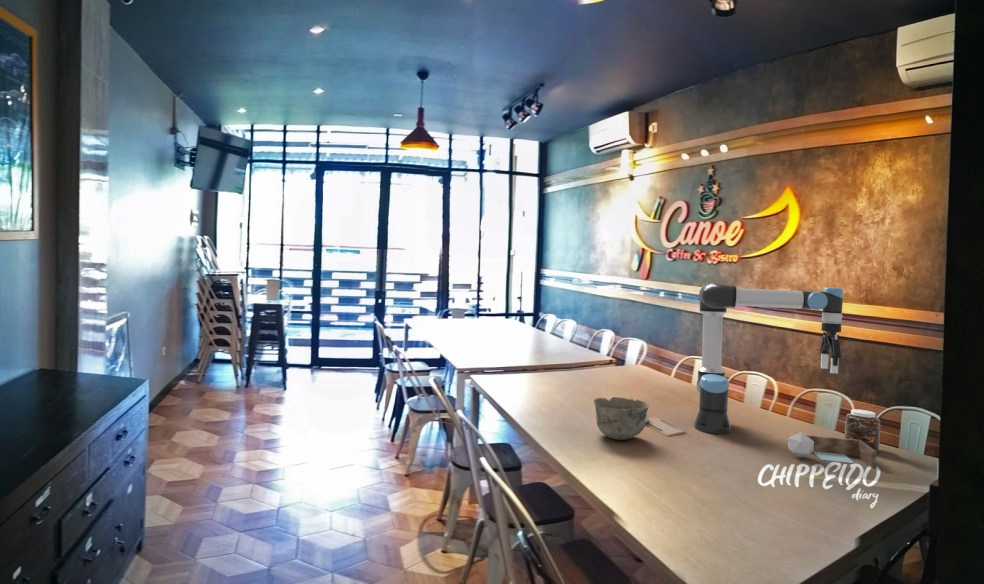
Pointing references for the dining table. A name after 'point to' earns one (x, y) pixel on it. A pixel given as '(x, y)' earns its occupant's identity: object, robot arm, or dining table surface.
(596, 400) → the bowl
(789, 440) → the die
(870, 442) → the jar
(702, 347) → the robot arm
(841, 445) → the arena
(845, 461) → the mat
